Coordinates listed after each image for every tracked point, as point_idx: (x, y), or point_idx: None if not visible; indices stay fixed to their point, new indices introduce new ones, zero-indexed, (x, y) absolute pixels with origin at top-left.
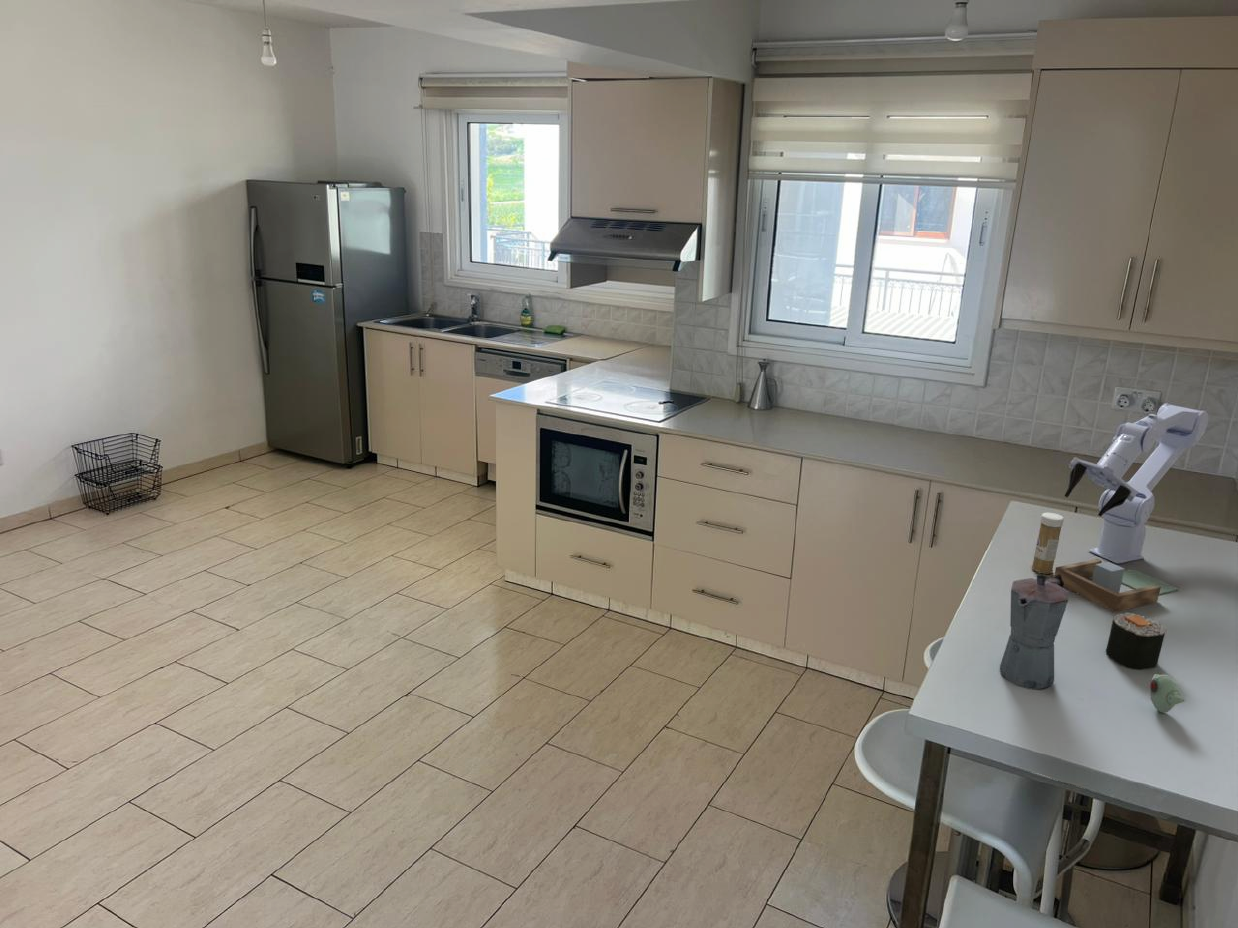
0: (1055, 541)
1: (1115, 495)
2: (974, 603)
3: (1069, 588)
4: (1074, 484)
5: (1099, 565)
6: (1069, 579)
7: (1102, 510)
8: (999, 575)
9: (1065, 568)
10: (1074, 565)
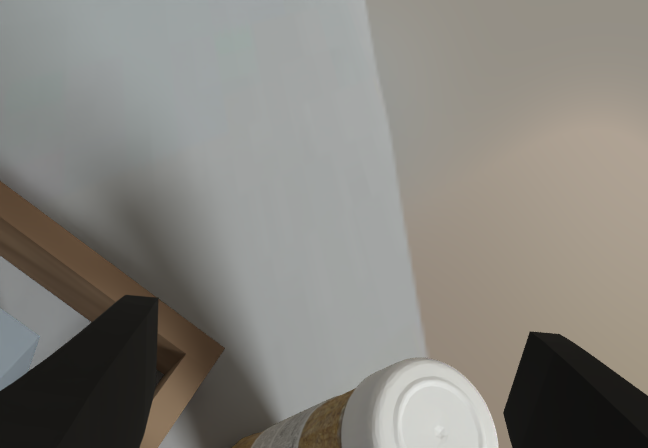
0: (305, 416)
1: (13, 444)
2: (372, 79)
3: None
4: (604, 391)
5: (14, 328)
6: None
7: (139, 297)
8: (381, 316)
9: (181, 361)
10: None
